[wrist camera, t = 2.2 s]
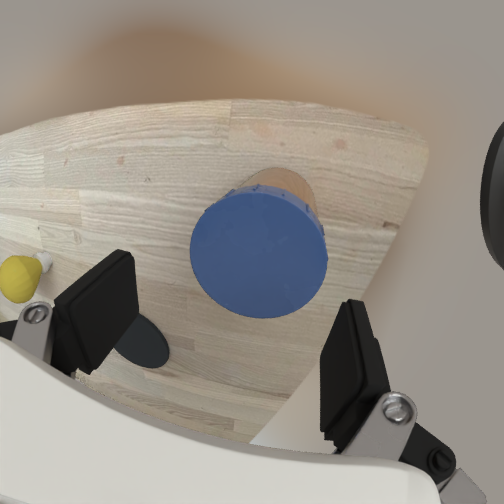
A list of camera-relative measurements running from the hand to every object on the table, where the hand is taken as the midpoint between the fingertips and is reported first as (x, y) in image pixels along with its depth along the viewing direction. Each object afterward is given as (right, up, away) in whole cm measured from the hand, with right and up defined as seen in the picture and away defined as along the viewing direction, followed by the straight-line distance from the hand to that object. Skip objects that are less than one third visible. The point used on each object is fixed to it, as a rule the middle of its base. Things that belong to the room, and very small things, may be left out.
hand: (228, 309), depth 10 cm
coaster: (-16, -10, +24) cm, 31 cm away
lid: (+1, +2, +4) cm, 4 cm away
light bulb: (-30, +1, +22) cm, 37 cm away
